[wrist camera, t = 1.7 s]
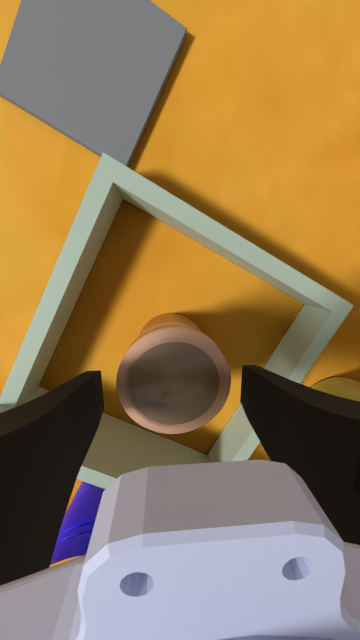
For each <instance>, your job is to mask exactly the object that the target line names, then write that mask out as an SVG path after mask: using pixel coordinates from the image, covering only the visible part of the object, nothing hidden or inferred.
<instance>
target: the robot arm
mask: <svg viewBox="0 0 360 640" xmlns="http://www.w3.org/2000/svg"><path fill="white" fill-rule="evenodd" d="M240 401H241V404H242V407H243V409H244V412H245V414H246V417H247V419H248V421H249V423H250V424H251V426H252V428H253V430H254V432H255V433H256V435H257V437H258V439H259V440H260V442H261V444H262V446H263V447H264V449H265V451H266V453H267V454H268V456H269V458H270V460H271V461H267V460H245V461H229V462H214V463H199V464H183V465H168V466H153V467H146V468H142V469H139V470H136V471H132V472H129V473H125V474H122V475H120V476H119V477H118V478H117V479H116V480H115V481H114V482H113V483H112V484H111V485H110V486H109V487H108V488H107V489H106V490H104V491H103V494H102V498H101V502H100V505H99V509H98V513H97V516H96V520H95V524H94V528H93V531H92V535H91V539H90V542H89V546H88V550H87V554H86V555H83V556H80V557H77V558H75V559H72V560H69V561H66V562H64V563H61V564H58V565H56V566H53V567H50V563H51V560H52V556H53V553H54V549H55V545H56V542H57V538H58V535H59V532H60V528H61V525H62V522H63V519H64V515H65V512H66V509H67V505H68V502H69V499H70V496H71V493H72V490H73V487H74V484H75V481H76V478H77V476H78V473H79V471H80V468H81V466H82V464H83V461H84V459H85V457H86V455H87V452H88V450H89V448H90V445H91V443H92V441H93V439H94V436H95V434H96V432H97V429H98V427H99V424H100V421H101V417H102V413H103V410H104V401H103V390H102V380H101V371H87V372H85V373H82V374H80V375H79V376H77V377H75V378H73V379H71V380H70V381H68V382H66V383H64V384H62V385H61V386H59V387H57V388H55V389H53V390H51V391H49V392H47V393H45V394H43V395H41V396H39V397H37V398H35V399H33V400H31V401H29V402H27V403H24V404H22V405H19V406H17V407H15V408H12V409H10V410H7V411H4V412H1V413H0V640H360V402H359V401H355V400H351V399H347V398H343V397H339V396H335V395H332V394H328V393H325V392H322V391H319V390H316V389H313V388H310V387H307V386H304V385H302V384H299V383H297V382H294V381H292V380H289V379H287V378H285V377H282V376H280V375H278V374H276V373H273V372H271V371H269V370H267V369H264V368H262V367H259V366H256V365H243V366H242V383H241V400H240ZM49 567H50V568H49Z"/></svg>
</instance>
